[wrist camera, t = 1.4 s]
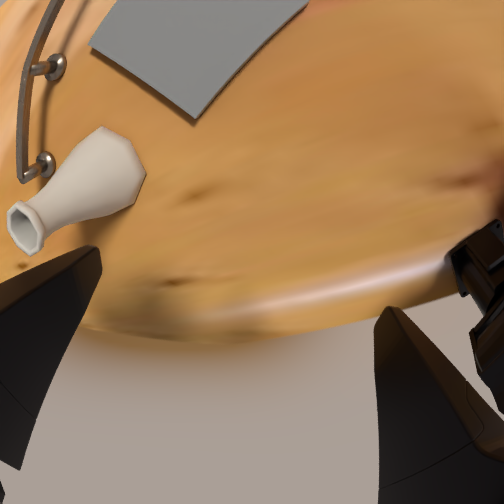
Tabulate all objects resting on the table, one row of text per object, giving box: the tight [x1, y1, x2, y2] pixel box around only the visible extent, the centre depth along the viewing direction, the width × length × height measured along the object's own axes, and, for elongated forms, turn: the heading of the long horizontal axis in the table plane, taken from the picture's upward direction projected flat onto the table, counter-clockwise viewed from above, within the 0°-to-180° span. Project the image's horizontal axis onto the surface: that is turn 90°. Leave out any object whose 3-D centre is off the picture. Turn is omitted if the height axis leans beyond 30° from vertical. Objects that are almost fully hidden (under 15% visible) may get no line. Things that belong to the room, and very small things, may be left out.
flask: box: [7, 126, 146, 257], centre depth 16 cm, size 7×7×10 cm
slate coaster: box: [88, 0, 310, 119], centre depth 13 cm, size 11×11×1 cm
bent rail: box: [16, 0, 67, 184], centre depth 13 cm, size 4×22×4 cm, turn 155°
